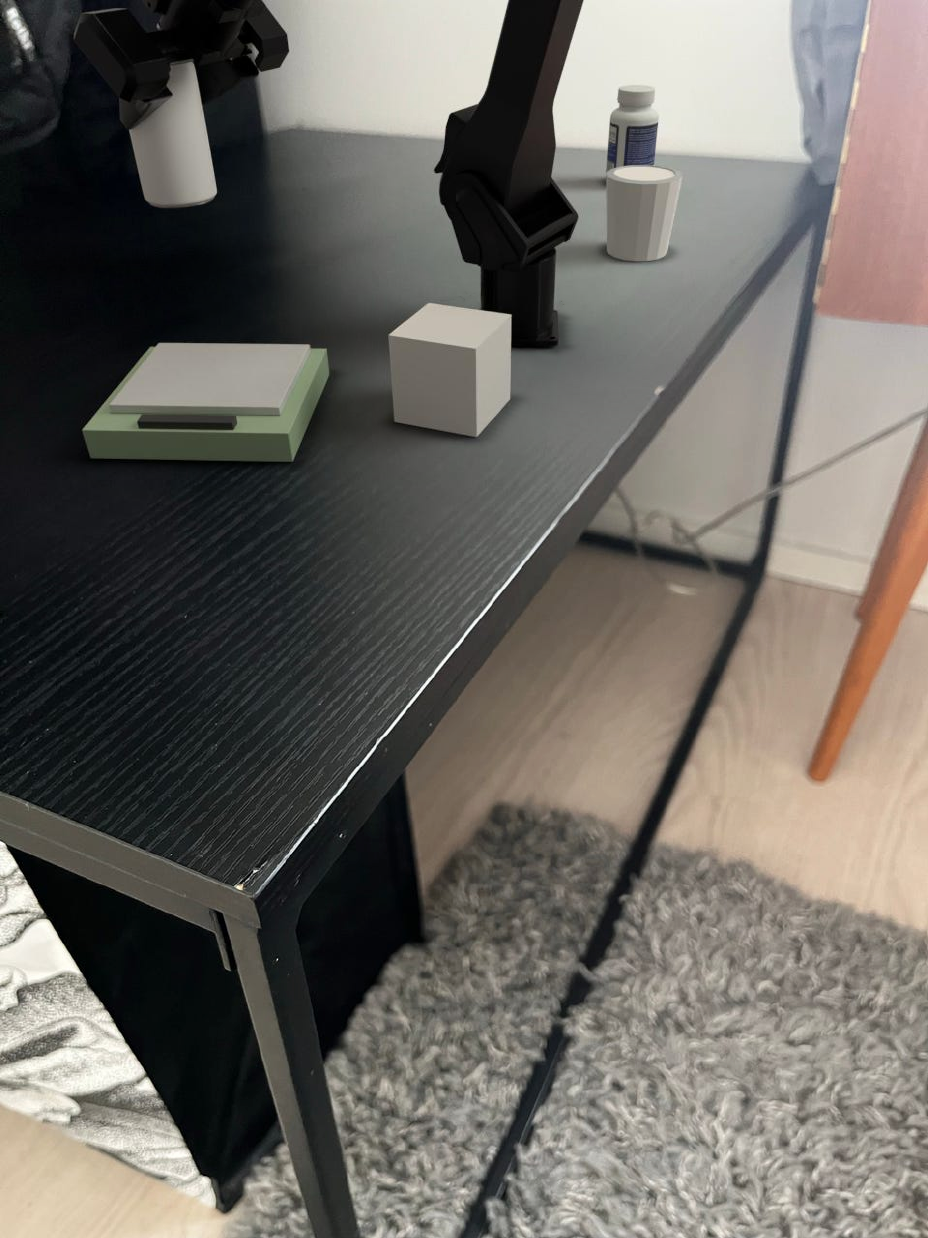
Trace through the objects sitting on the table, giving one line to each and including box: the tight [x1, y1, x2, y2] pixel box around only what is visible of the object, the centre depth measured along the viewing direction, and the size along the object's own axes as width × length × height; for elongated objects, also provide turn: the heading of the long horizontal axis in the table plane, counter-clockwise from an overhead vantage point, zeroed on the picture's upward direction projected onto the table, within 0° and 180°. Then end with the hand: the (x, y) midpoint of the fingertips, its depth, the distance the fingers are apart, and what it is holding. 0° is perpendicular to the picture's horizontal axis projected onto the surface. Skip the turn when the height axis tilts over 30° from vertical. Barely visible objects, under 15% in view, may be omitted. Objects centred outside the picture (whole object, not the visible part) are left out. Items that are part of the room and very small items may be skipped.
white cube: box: [387, 302, 512, 438], centre depth 62 cm, size 6×6×6 cm
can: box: [128, 62, 218, 210], centre depth 82 cm, size 6×6×12 cm
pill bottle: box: [605, 84, 660, 174], centre depth 106 cm, size 5×5×10 cm
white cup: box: [605, 165, 684, 262], centre depth 87 cm, size 7×7×7 cm
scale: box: [81, 342, 330, 463], centre depth 63 cm, size 13×13×3 cm
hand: (154, 117), depth 82 cm, fingers closed on can, 6 cm apart
